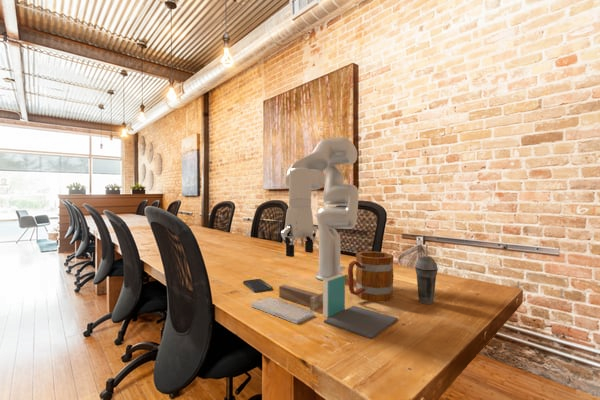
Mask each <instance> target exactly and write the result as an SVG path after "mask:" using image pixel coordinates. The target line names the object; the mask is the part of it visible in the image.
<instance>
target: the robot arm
mask: <svg viewBox="0 0 600 400" xmlns="http://www.w3.org/2000/svg"><path fill="white" fill-rule="evenodd" d="M357 159H358V149H357V148H356V146H355V144H354V143H353V142H352V140H350V139H349V138H348V137H343V136H339V137H327V138H322V139H321V140H319V141H318V143H317V144H316V146H315V147H314V149H313V150H312V152H311V153H310V154H308V155H306V156H304V157H302V158H300V159H298V160H296V161H295V162H293V163H292V164H291V166H290V167H289V169H287V172H286V175H285V179H284V181H285V184H286V187H287V189H288V208H287V209H286V213H285V214H286V215H285V221H284V222H285V223H284V229H282V230H281V231H280V235H281V238H282V241H283V243H284V245H285V256H286V257H290V258H294V257H295V245H294V243H295V241H296V239H302V238H304V239H305V241H304V244H305V245H304V251H305V253H309V254H312V253H314V242H315V237H316V235H317V231H318V272H316V273H315V278H316V279H317V280H320V281H323V280H324V279H327V278H330V277H333V276H336V275H339V274H342V275H344V274H343V273H342V271H344V270H346V267H345V265H341V237H340V234H339V233H338V231H337V230H336V229H339V230H340V229H341V230H346V229H347V230H349V229H350V230H351V229H354V228H355V227H356V225H357V218H358V210H359V209H358V208H359V189H358V188H357V186H356V185H354V184H347V183H346V184H344V179H345V176H344V174H343V172H342V171H341V170H340V168H339V167H338V166H340V165H353V164H355V163H356V162H357ZM337 165H338V166H337ZM322 171H324V173H323V172H322ZM324 174H325V175H324ZM323 186H324V189H323V194H322V197H323V199H322V200H323V202H324V204H326V205H327V206H323V207H321V208H319V209H318V210H317V212H316V221H317V227H316V226H314V218H313V210H312V191H317V190H321V188H323ZM328 205H329V206H328Z"/></svg>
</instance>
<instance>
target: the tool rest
mask: <svg viewBox="0 0 600 400" xmlns="http://www.w3.org/2000/svg"><path fill="white" fill-rule="evenodd" d="M251 308H254V309H257V310H260V311H262V312H265V313H267V314H269V315H272V316H274V317H278V318H280V319H283V320H285V321H288V322H290V323H293V324H295V325H298V324H300V323H302V322H304V321H306V320H309V319H310V318H314V317H315V316H316V315H315V313H316V312H315V310H313V311H312V310H310V309H307V308H304V307H302V306H298V305H295V304H292V303H289V302H287V301H284V300H281V299H277V298H274V297H271V296H268V297H266V298H263V299H259V300H257V301H254V302H251Z"/></svg>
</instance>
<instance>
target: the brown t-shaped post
mask: <svg viewBox="0 0 600 400" xmlns="http://www.w3.org/2000/svg"><path fill="white" fill-rule="evenodd" d="M278 290H279V291H278V292H279V293H278V295H279V298H281V299H284V300H287V301H291V302H293V303H296V304H299V305H303V306H306V307H309V308H310V309H309V310H311V311H315V310H318V309H320V308H323V292H321V293H316V292H313V291H309V290H305V289H303V288H302V289H301V288H297V287H294V286H290V285H287V284H282V285H279V287H278Z"/></svg>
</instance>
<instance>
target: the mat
mask: <svg viewBox="0 0 600 400" xmlns="http://www.w3.org/2000/svg"><path fill="white" fill-rule="evenodd" d="M398 320H399V318H398V317H397V316H392V315H388V314H385V313H381V312H378V311H374V310H370V309H367V308H364V307H360V306H357V305H352V306H350V307H348V308H345V309H344V310H342V311H340V312H338V313H336V314H334V315H332V316H330V317H328V318H326V319H324V320H323V323H325V324H328V325H330V326H332V327H333V326H334V327H336V328H339V329H342V330H345V331H347V332H351V333H354V334H356V335H359V336H362V337H365V338H368V339H371V340H373V338H375V337H376V336H378V335H379V334H380V333H381V332H383V331H385V329H387V328H388V327H390V326H392V325H393V324H394V323H395V322H397V321H398Z"/></svg>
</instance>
